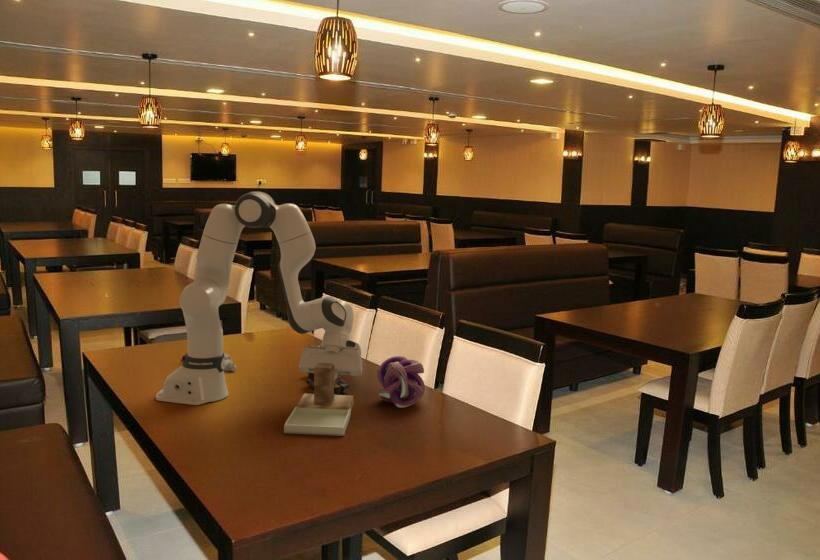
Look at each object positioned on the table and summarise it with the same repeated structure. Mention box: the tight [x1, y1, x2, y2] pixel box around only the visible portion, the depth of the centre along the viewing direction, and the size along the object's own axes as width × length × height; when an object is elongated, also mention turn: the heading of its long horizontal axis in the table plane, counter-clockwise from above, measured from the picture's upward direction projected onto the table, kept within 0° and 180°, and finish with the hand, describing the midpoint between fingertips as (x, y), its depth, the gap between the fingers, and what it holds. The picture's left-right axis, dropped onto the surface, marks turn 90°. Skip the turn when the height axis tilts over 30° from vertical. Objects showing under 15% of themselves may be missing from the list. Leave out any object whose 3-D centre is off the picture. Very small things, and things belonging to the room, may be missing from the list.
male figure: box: [224, 352, 237, 372], centre depth 239 cm, size 11×10×25 cm
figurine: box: [306, 372, 350, 395], centre depth 217 cm, size 13×6×30 cm
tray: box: [283, 405, 352, 437], centre depth 184 cm, size 17×16×2 cm
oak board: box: [297, 393, 354, 411], centre depth 197 cm, size 16×10×3 cm, turn 88°
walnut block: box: [313, 363, 335, 406], centre depth 193 cm, size 5×5×12 cm
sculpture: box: [376, 355, 426, 409], centre depth 205 cm, size 16×17×20 cm
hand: (326, 384), depth 196 cm, fingers closed, pressing on walnut block
